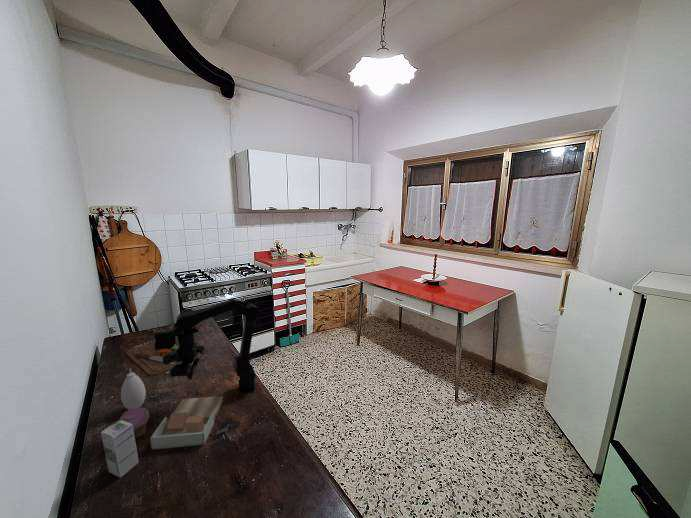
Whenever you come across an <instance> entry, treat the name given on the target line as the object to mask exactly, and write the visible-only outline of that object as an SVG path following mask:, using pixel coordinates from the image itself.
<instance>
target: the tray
mask: <svg viewBox="0 0 691 518" xmlns="http://www.w3.org/2000/svg"><path fill="white" fill-rule="evenodd" d="M214 425H215V420H214V415H213V413H212V414H211V416H210V418H209V420H208V422H207V423H204V429H203V431H202V432H198V433H186V431H185V429H184V430H176V431H169V430H167V426H168V417H167V416H165V417H164V418H163V419H162V421H161V422H160V423H159V425H158V426H157V428H156V429H155V431H154V432H153V434H152V435H151V436H150V438H149V439H150V445H151V450H152V451H153V450H161V449H172V448H184V447H192V446H193V447H194V446H203V445H204V446H205V445H206V443H207V440H208V438H209V437H210V434H211V431H212V429H213V428H214Z"/></svg>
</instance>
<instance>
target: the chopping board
mask: <svg viewBox="0 0 691 518" xmlns="http://www.w3.org/2000/svg"><path fill="white" fill-rule="evenodd" d="M176 338H177V339H178V336H176ZM152 341H154V342H152ZM149 342H151V343H149ZM146 343H148V344H146ZM143 344H144V345H143ZM178 348H179V344H178V340H176V344H174V346H173V347H172V348H167V349H162V350H157V351H156V350H155V339H154V340H151V341H148V342H145V343H141V344H139V345H136V346H134V347H132V348H130V349H128V350H126V351H125V355H126V356H128V357H129V359H131V361H133V362H134V363H135V364H136V365H137V366H138V368H140V369H141V370H142V371H144V372H145V373H146V374H147V375H148V376H149V377H153V376H159V375H161V374H165V375H168V374H170V370H171V369H172V368H173V367H174V366H175V365H176V364H181V363H182V361H180V362H177V361H174V362H171V363H170V364H164V363H163V362H162V361H163V360H162V359H163V357H164V356H165V355H166V354H167V353H169V352H171V351H173V350H176V349H178ZM204 355H205V352H204V353H203V354H200V352H198V355H197V357H196V359H200V358H202V357H203V356H204ZM201 356H202V357H201ZM199 357H200V358H199Z"/></svg>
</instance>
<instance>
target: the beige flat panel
mask: <svg viewBox="0 0 691 518" xmlns="http://www.w3.org/2000/svg"><path fill="white" fill-rule="evenodd" d="M223 403H224V396H223V395H221V396H220V395H219V396H208V397H207V396H206V397H205V396H204V397H194V398H191V397H190V398H183V399H182V400H181V401H180V402H179V404H178V405H177V406H176V409H175V410H174V411H173V413H182V412H186V413H187V414H188V417H189V416H203V422H204V423H207V422H208V420H209V418H210V416H211V414H212V413H213V415H214V421H215V420H216V419H217V416H218V414H219V411H220V410H221V408H222V405H223ZM169 419H170V417H169ZM169 419H167V422H169ZM187 419H188V418H187Z"/></svg>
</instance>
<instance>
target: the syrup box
mask: <svg viewBox="0 0 691 518" xmlns="http://www.w3.org/2000/svg"><path fill="white" fill-rule="evenodd" d="M100 434H101V435H100V436H101V439H102V445H103V451H104V456H105V462H106V466H107V467H106V468H107V471H108V473H110V474H112V475H113V476H116V477H117V478H122V477H123V476H125V474H127V473H128V472H130V470H133V468H134V467H136V466H137V465H138V464H139V456H138V450H137V449H138V448H137V444H136V439H135V437H134V431H133V425H132V424H131V423H128V422H125V421H123V420H120V419H119V420H117V421H116V422H114V423H112V424H111V425H110V426H108V427H106V428H105V429H104V430H103V431H101V432H100Z"/></svg>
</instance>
